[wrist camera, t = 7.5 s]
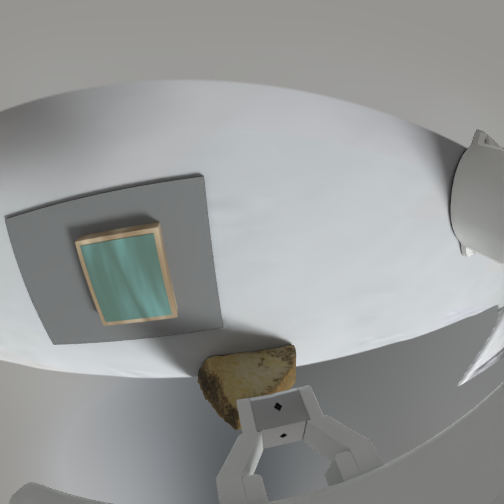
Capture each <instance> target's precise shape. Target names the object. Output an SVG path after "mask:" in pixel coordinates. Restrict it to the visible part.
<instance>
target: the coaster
mask: <svg viewBox="0 0 504 504" xmlns="http://www.w3.org/2000/svg"><path fill="white" fill-rule="evenodd" d="M75 244H76V248H77V252H78V255H79V258H80V262H81V265H82V268H83V271H84V274H85V278H86V280H87V283H88V286H89V289H90V292H91V295H92V298H93V300H94V303H95V305H96V308H97V311H98V313H99V316H100V318H101V321H102V323H103V325H104V326H107V325H117V324H127V323H136V322H145V321H153V320H161V319H169V318H176V317H178V308H177V304H176V300H175V295H174V291H173V287H172V282H171V277H170V273H169V268H168V263H167V258H166V253H165V248H164V243H163V237H162V232H161V226H160V222H156V223H150V224H144V225H138V226H132V227H126V228H120V229H115V230H109V231H104V232H98V233H93V234H88V235H82V236H80V237H79V238H78V239H77V240H76V241H75Z"/></svg>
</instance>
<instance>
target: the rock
mask: <svg viewBox="0 0 504 504" xmlns="http://www.w3.org/2000/svg"><path fill="white" fill-rule="evenodd" d="M295 381H296V349H295V347H294V345H289V346H282V347H278V348H274V349H266V350H261V351H255V352H242V353H233V354H229V355H225V356H212V357H210V358H207V360H206V361H205V362H204V364H203V365H202V367H201V368H200V370H199V374H198V383H199V384H200V388H201V390H202V391H203V394H204V397H205V399H207V400H208V401H209V402H210V403H211V405H212V407H213V408H214V409H215V410H216V412H217V413H218V415H219V416H220V417H222V418H223V419H224V421H225V422H227V423H229V424H230V425H231V426H232V427H233V428H234V429H235V430H239V429H242V428H241V423H240V418H239V413H238V408H237V401H236V400H239V399H245V398H252V397H258V396H264V395H269V394H273V393H278V392H282V391H286V390H290V389H291V387H292V385H294V383H295Z"/></svg>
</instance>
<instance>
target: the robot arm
mask: <svg viewBox="0 0 504 504" xmlns="http://www.w3.org/2000/svg"><path fill="white" fill-rule="evenodd" d="M451 221H452V227H453V230H454V233H455V235H456V237H457V238H458V240H459V241H460V243H461V250H462V254H463V256H466V257H470V256H472V255H473V254H475V253H476V252H477V253H479V254H481V255H483V256H485V257H487V258H489V259H491V260H493V261H495V262H497V263H499V264H501V265H504V148H501V147H500V146H499V145H498V144H497V143H496V142H495V141H494V140H492V139H491V138H490V137H489V136H488V135H487V134H486V133H485V132H483V131H481V130H476V132H475V134H474V137H473V140H472V144H471V145H470V147H469V148H468V149H467V150H466V151H465V153H464V154H463V156H462V158H461V160H460V162H459V164H458V167H457V170H456V173H455V177H454V182H453V187H452V194H451ZM236 401H237V408H238V413H239V418H240V423H241V428H242V433H243V434H241V435H239V436H238V438H237V440H236V442H235V444H234V446H233V448H232V450H231V452H230V454H229V455H228V457H227V459H226V461H225V463H224V465H223V467H222V469H221V470H220V472H219V474H218V476H217V478H216V483H217V489H218V496H219V502H220V504H504V382H502V383H501V384H500V385H499V386H498V387H497V388H496V389H495V390H494V391H493V392H492V393H491V394H489V395H488V396H487V397H486V398H485V399H484V400H483V401H481V402H480V403H479V404H478V405H477V406H475V407H474V408H473V409H472V410H471V411H469V412H468V413H467V414H465V415H464V416H463V417H461V418H460V419H459V420H457V421H456V422H455V423H453V424H452V425H451V426H449V427H448V428H446V429H445V430H443V431H442V432H440V433H439V434H437V435H436V436H434V437H433V438H431V439H429V440H428V441H426V442H425V443H423V444H421V445H419V446H418V447H416V448H414V449H413V450H411V451H409V452H407V453H405V454H404V455H402V456H400V457H398V458H396V459H394V460H392V461H390V462H388V463H386V464H384V465H383V463H382V461H381V459H380V457H379V455H378V453H377V452H376V450H375V448H374V446H373V444H372V442H371V440H369V439H367V438H365V437H364V436H362V435H360V434H358V433H357V432H355V431H353V430H351V429H350V428H348V427H346V426H344V425H343V424H341V423H339V422H338V421H336V420H334V419H333V418H331V417H329V416H328V415H326V416H324V415H323V413H322V411H321V409H320V407H319V404H318V402H317V400H316V397H315V395H314V393H313V391H312V389H311V387H310V386H309V385H307V386H304V387H300V388H294V389H290V390H286V391H282V392H278V393H273V394H269V395H264V396H258V397H252V398H245V399H239V400H236ZM300 440H303V441H304V442H305V443H306V444H308V445H309V446H310V447H311V448H313V449H314V450H315V451H317V452H318V453H319V454H321V455H322V456H323V457H325V458H326V459H327V460H329V461H330V462H331V464H330V466H329V468H328V469H327V471H326V473H325V474H324V475H325V478H326V481H327V483H328V486H329V487H326V488H323V489H320V490H316V491H313V492H309V493H306V494H302V495H298V496H294V497H291V498H286V499H282V500H277V501H272V502H268V499H267V495H266V491H265V488H264V484H263V480H262V477H261V476H259V475H257V474H255V475H253V473H254V471H255V469H256V466H257V464H258V461H259V459H260V456H261V454H262V451H263V449H264V448H269V447H273V446H277V445H281V444H286V443H291V442H295V441H300ZM9 504H111V503H105V502H100V501H96V500H91V499H87V498H82V497H79V496H75V495H71V494H67V493H64V492H61V491H58V490H55V489H52V488H49V487H46V486H43V485H40V484H38V483H34V482H29V483H27V484H25V485H24V486H23V487H22V488H20V489H19V490H18V491H17V492H16V493H15V494H13V495H12V497H11V499H10V501H9Z"/></svg>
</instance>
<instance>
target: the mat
mask: <svg viewBox="0 0 504 504" xmlns="http://www.w3.org/2000/svg"><path fill="white" fill-rule="evenodd" d="M5 221H6V225H7V229H8V233H9V237H10V240H11V244H12V247H13V250H14V254H15V257H16V260H17V263H18V266H19V269H20V271H21V274H22V277H23V280H24V282H25V285H26V287H27V290H28V292H29V295H30V297H31V299H32V302H33V304H34V306H35V308H36V311H37V313H38V315H39V317H40V319H41V321H42V323H43V325H44V327H45V329H46V331H47V333H48V335H49V337H50V339H51V341H52V343H53V344H54V345H59V344H82V343H98V342H111V341H123V340H134V339H143V338H153V337H161V336H169V335H177V334H184V333H192V332H198V331H205V330H211V329H218V328H223V323H222V316H221V310H220V303H219V296H218V289H217V282H216V275H215V267H214V260H213V252H212V244H211V236H210V227H209V219H208V210H207V201H206V191H205V181H204V176H201V177H193V178H186V179H179V180H172V181H165V182H159V183H153V184H147V185H141V186H136V187H130V188H125V189H120V190H115V191H110V192H105V193H100V194H96V195H91V196H87V197H83V198H78V199H74V200H70V201H66V202H62V203H58V204H55V205H51V206H47V207H44V208H40V209H37V210H33V211H30V212H26V213H23V214H20V215H17V216H13V217H10V218H7V219H6V220H5ZM156 222H160V226H161V232H162V237H163V243H164V248H165V253H166V258H167V263H168V268H169V273H170V277H171V282H172V287H173V291H174V295H175V300H176V304H177V308H178V317H176V318H169V319H161V320H153V321H145V322H136V323H127V324H117V325H107V326H104V325H103V323H102V321H101V318H100V316H99V313H98V311H97V308H96V305H95V303H94V300H93V298H92V295H91V292H90V289H89V286H88V283H87V280H86V278H85V274H84V271H83V268H82V265H81V262H80V258H79V255H78V252H77V248H76V244H75V241H76V240H77V239H78V238H79V237H80V236H82V235H88V234H93V233H98V232H104V231H109V230H115V229H120V228H126V227H132V226H138V225H144V224H150V223H156Z"/></svg>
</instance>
